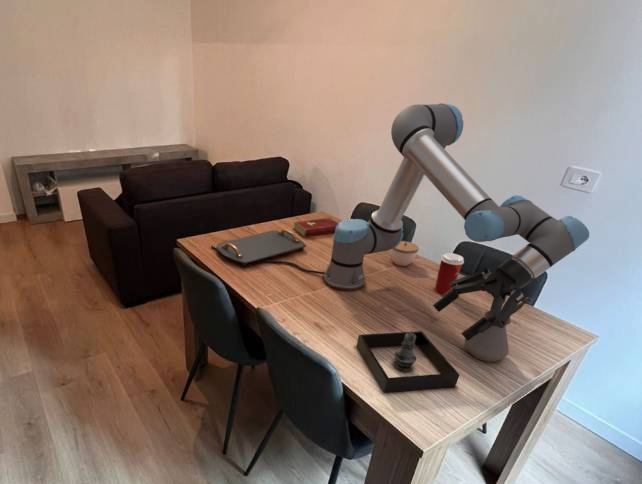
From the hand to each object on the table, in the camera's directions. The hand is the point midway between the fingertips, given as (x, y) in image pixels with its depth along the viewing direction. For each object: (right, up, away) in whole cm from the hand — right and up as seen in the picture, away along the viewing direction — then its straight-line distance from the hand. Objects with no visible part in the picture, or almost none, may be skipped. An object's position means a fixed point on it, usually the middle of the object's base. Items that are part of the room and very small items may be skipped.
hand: (449, 322), depth 107 cm
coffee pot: (+20, -9, +14) cm, 26 cm away
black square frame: (-10, -13, +6) cm, 17 cm away
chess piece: (-10, -13, +6) cm, 17 cm away
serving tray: (-47, +28, +73) cm, 91 cm away
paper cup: (+19, +9, +45) cm, 49 cm away
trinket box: (+12, +22, +65) cm, 70 cm away
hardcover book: (-19, +40, +96) cm, 105 cm away
